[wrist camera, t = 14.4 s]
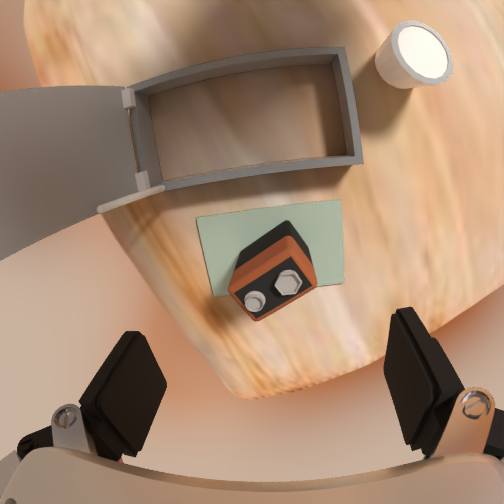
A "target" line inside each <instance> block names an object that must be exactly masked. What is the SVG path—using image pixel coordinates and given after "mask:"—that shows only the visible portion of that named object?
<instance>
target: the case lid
mask: <svg viewBox="0 0 504 504" xmlns="http://www.w3.org/2000/svg"><path fill="white" fill-rule="evenodd" d="M122 90H125V87H120V86H55V87H40V88H28V89H19V90H12V91H4V92H0V261H1V260H3V259H5V258H6V257H8V256H10V255H12V254H14V253H16V252H18V251H19V250H22V249H23V248H25V247H27V246H29V245H31V244H33V243H35V242H37V241H39V240H41V239H43V238H45V237H47V236H49V235H52V234H54V233H56V232H58V231H60V230H62V229H65V228H67V227H69V226H71V225H74V224H76V223H78V222H80V221H82V220H85V219H87V218H90V217H92V216H94V215H97V214H99V213H98V212H97V207H98V206H99V205H102V204H105V203H108V202H110V201H113V200H116V199H119V198H122V197H125V196H128V195H131V194H134V193H137V192H139V191H138V187H137V182H136V177H135V173H138V169H137V164H136V159H135V154H134V148H133V142H132V137H131V130H130V124H129V117H128V110H127V108H124V107H123V100H122Z"/></svg>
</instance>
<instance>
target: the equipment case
mask: <svg viewBox="0 0 504 504" xmlns="http://www.w3.org/2000/svg"><path fill="white" fill-rule="evenodd" d="M321 63H332V67H333V72H334V77H335V82H336V87H337V93H338V99H339V105H340V111H341V117H342V124H343V131H344V138H345V146H346V155H337V156H325V157H315V158H305V159H295V160H287V161H279V162H271V163H264V164H256V165H250V166H243V167H237V168H231V169H225V170H219V171H213V172H207V173H202V174H197V175H192V176H187V177H182V178H177V179H172V180H167V181H163V180H162V175H161V170H160V164H159V159H158V154H157V148H156V143H155V137H154V131H153V125H152V118H151V112H150V105H149V98H148V96H149V95H152V94H155V93H158V92H161V91H165V90H168V89H172V88H175V87H179V86H182V85H186V84H190V83H194V82H198V81H202V80H206V79H211V78H215V77H220V76H225V75H230V74H235V73H241V72H247V71H253V70H259V69H267V68H274V67H283V66H293V65H305V64H321ZM122 100H123V107H124V108H127V109H130V116H131V122H132V129H133V135H134V141H135V147H136V152H137V158H138V163H139V168H140V172H139V173H135V177H136V182H137V187H138V191H139V192H137V193H134V194H131V195H128V196H125V197H122V198H119V199H116V200H113V201H110V202H108V203H105V204H102V205H99V206H98V207H97V212H98V213H99V214H101V213H104V212H107V211H109V210H112V209H115V208H117V207H120V206H123V205H125V204H128V203H131V202H134V201H137V200H140V199H142V198H145V197H148V196H151V195H154V194H157V193H160V192H163V191H168V190H172V189H177V188H183V187H188V186H193V185H199V184H204V183H210V182H216V181H222V180H228V179H234V178H240V177H247V176H254V175H261V174H269V173H276V172H284V171H293V170H302V169H311V168H321V167H332V166H344V165H357V164H364V163H363V153H362V144H361V136H360V128H359V121H358V115H357V108H356V102H355V96H354V90H353V85H352V80H351V75H350V70H349V65H348V61H347V56H346V52H345V47H315V48H299V49H287V50H278V51H269V52H262V53H255V54H249V55H243V56H237V57H232V58H227V59H222V60H217V61H212V62H208V63H204V64H200V65H196V66H192V67H188V68H184V69H181V70H177V71H174V72H170V73H167V74H164V75H161V76H158V77H154V78H151V79H149V80H146V81H143V82H140V83H137V84H134V85H132V86H129V87H127V89H125V90H122Z"/></svg>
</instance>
